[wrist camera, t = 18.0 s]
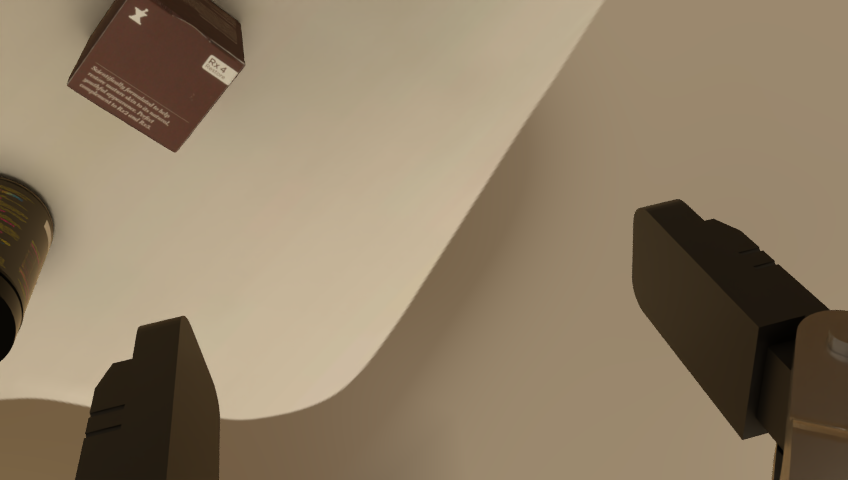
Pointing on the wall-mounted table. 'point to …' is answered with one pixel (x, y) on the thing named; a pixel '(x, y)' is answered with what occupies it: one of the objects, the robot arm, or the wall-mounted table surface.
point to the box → (160, 64)
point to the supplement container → (19, 254)
